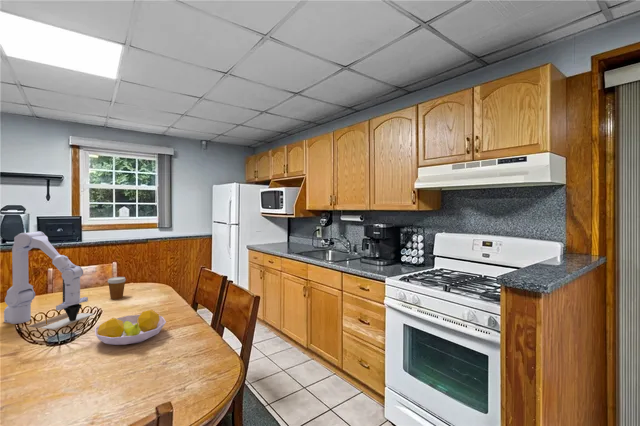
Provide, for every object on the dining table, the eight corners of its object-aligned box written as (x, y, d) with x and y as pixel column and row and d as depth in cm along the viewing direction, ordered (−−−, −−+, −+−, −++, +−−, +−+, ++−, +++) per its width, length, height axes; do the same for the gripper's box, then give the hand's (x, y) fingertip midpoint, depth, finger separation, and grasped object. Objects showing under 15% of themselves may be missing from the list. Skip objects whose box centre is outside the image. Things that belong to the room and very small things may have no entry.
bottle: (64, 304, 178) (64, 269, 177) (61, 302, 182) (61, 267, 182) (79, 301, 183) (79, 267, 183) (75, 299, 187) (75, 266, 187)
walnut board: (26, 329, 143) (26, 326, 143) (68, 314, 163) (68, 312, 163) (39, 330, 142) (39, 327, 142) (80, 315, 162) (80, 313, 162)
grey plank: (40, 330, 142) (40, 327, 142) (81, 315, 162) (81, 313, 162) (54, 331, 141) (54, 328, 141) (94, 315, 160) (93, 313, 160)
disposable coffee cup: (108, 296, 195) (109, 277, 194) (126, 295, 199) (127, 276, 198) (105, 301, 186) (106, 280, 186) (124, 299, 190) (124, 279, 190)
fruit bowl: (104, 330, 144) (104, 305, 144) (169, 324, 153) (169, 301, 153) (80, 358, 118) (80, 328, 117) (161, 349, 127) (161, 321, 126)
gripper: (65, 297, 143) (65, 326, 143) (93, 289, 157) (93, 315, 157) (51, 296, 144) (52, 325, 144) (81, 288, 158) (81, 314, 158)
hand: (72, 320), depth 151 cm, fingers closed, pressing on grey plank
